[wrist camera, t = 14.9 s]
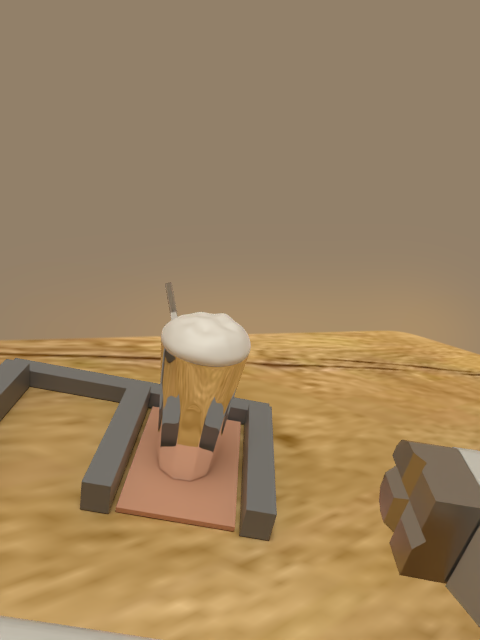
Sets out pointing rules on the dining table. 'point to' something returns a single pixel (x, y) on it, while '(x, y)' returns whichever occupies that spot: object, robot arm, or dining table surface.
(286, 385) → the dining table surface
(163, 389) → the milkshake
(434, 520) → the robot arm
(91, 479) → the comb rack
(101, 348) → the dining table surface
